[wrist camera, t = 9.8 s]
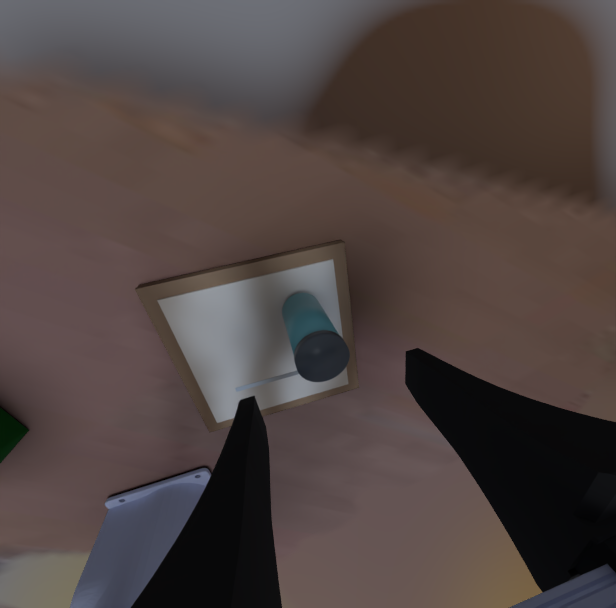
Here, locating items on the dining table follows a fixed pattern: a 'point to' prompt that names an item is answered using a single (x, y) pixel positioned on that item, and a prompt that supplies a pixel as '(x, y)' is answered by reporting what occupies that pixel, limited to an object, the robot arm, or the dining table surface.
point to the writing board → (250, 329)
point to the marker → (314, 339)
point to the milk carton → (9, 433)
